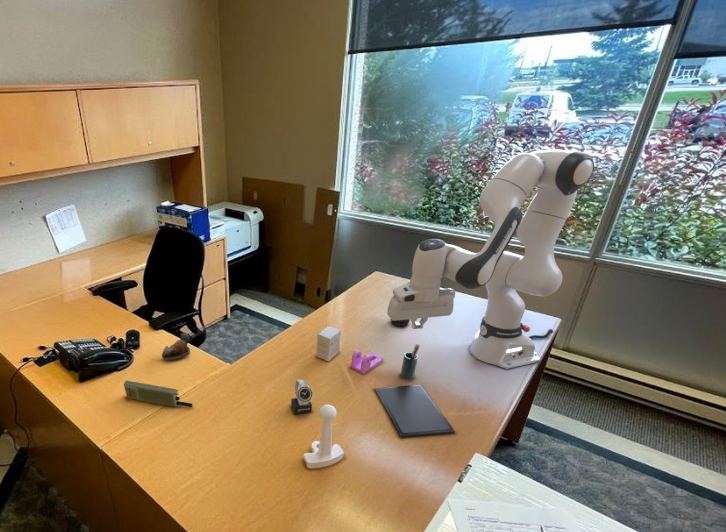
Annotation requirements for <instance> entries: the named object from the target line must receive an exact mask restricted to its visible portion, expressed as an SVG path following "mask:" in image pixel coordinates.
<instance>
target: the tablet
mask: <svg viewBox="0 0 726 532" xmlns="http://www.w3.org/2000/svg"><path fill="white" fill-rule="evenodd" d="M374 391H375V393H376V395H377V396H378V398H379V400H380V401H381V403H382V405H383V407H384V409H385V411H386V413H387V414H388V416H389V419H390V421H391V422H392V424H393V426H394V428H395V429H396V431H397V434H398V435H399V437H400V438H413V437H426V436H439V435H450V434H452V435H453V434H455V429H454V428H453V426H451V424H450V423H449V421H448V420H447V419H446V417H445V416H444V414H443V413H442V412H441V410H440V409H439V408H438V406H437V405H436V404H435V402H434V401H433V400H432V398H431V396H430V395H429V394H428V393H427V391H426V389H425V388H424V387H423V386H422V385H421V384H411V385H399V386H388V387H375V388H374Z"/></svg>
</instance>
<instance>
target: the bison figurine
mask: <svg viewBox="0 0 726 532" xmlns="http://www.w3.org/2000/svg"><path fill="white" fill-rule="evenodd" d="M179 338H180V339H178V340H176V341H175V342H174V343H172V344H171V345H170V346H168V345H165V347H164V348H163V351H162V353H161V358H162V359H163V360H164V361H172V360H177V359H181V358H185V357H187V356H189V355H190V353H191V348H190V347H189V346H188V344H189V342H190V339H191V337H190V333H189V332H183V333H180V337H179Z"/></svg>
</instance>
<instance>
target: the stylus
mask: <svg viewBox="0 0 726 532" xmlns="http://www.w3.org/2000/svg"><path fill="white" fill-rule="evenodd" d="M420 347H421V345H420V344H418V343H415V344H414V347H413V350H412V351H411V352H412V354H411V357H410V359H415V356H416V354H417V355H418V352H419V350H420Z"/></svg>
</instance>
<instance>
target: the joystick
mask: <svg viewBox="0 0 726 532" xmlns="http://www.w3.org/2000/svg"><path fill="white" fill-rule="evenodd" d="M337 412H338V411H337V409H336V408H335V407H334V406H333V405H331V404H323V405H321V407H320V409H319V410H318V414H319V418H320V419H321V420H322V422H321V430H320V436H319V440H315V441H313V442H312V443H311V448H310V449H311V452H304V453H303V458H302V459H303V461H304V462H305V466H306V467H307V468H308V469H320V468H325V467H329V466H332V465H334V464H337V463H338V462H340V461H341V460H343V458H344V453H345V451H344V450H343V448H342V446H340V445H339V443H335V444H333V445H332V438H333V437H332V435H333V434H332V433H333V432H332V431H333V429H332V428H333V421H335V419H337Z"/></svg>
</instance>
